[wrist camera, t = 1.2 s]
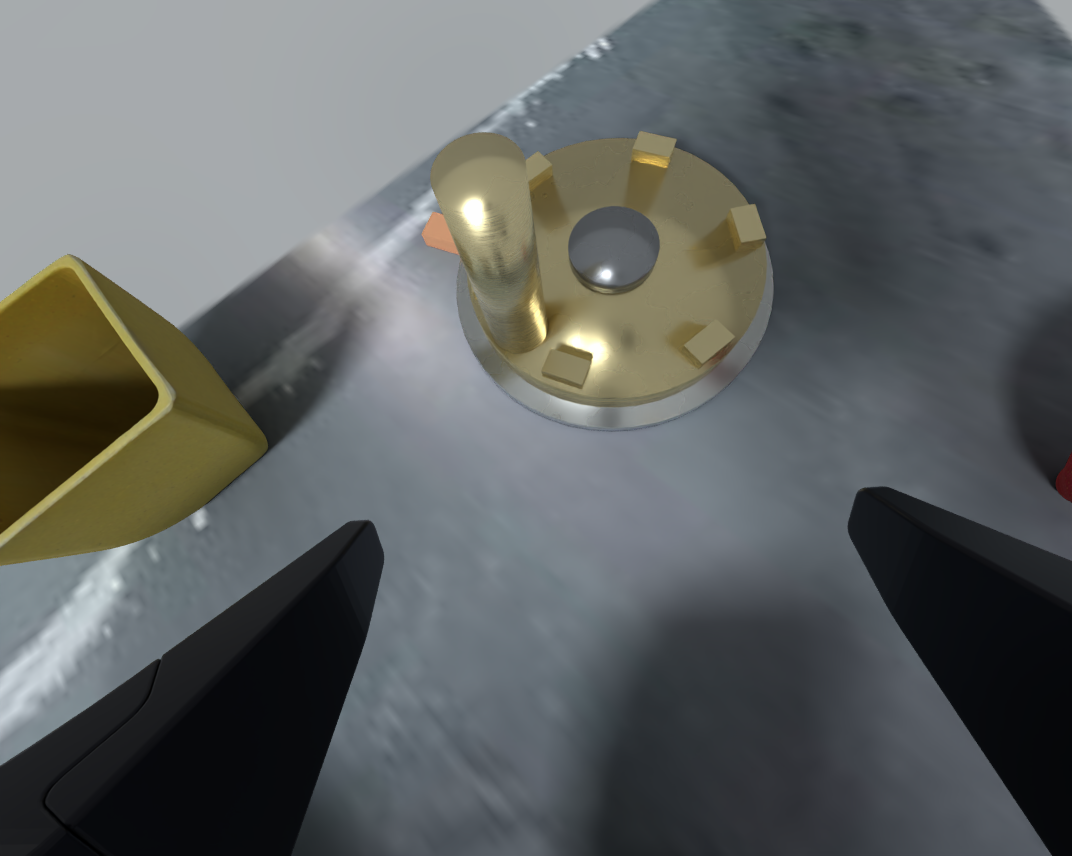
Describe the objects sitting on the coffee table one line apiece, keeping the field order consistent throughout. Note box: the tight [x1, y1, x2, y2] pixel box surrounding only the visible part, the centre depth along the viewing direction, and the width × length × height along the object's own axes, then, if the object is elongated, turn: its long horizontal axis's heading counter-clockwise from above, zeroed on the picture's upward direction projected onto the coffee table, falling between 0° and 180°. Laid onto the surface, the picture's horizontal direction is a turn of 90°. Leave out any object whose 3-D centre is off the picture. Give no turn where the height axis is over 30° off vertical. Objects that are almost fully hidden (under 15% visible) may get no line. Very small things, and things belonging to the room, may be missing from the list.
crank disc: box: [430, 131, 767, 408], centre depth 19 cm, size 15×15×11 cm
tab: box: [422, 212, 459, 255], centre depth 26 cm, size 3×2×1 cm, turn 68°
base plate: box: [457, 206, 774, 431], centre depth 23 cm, size 17×17×4 cm
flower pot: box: [0, 254, 268, 566], centre depth 20 cm, size 9×9×9 cm
